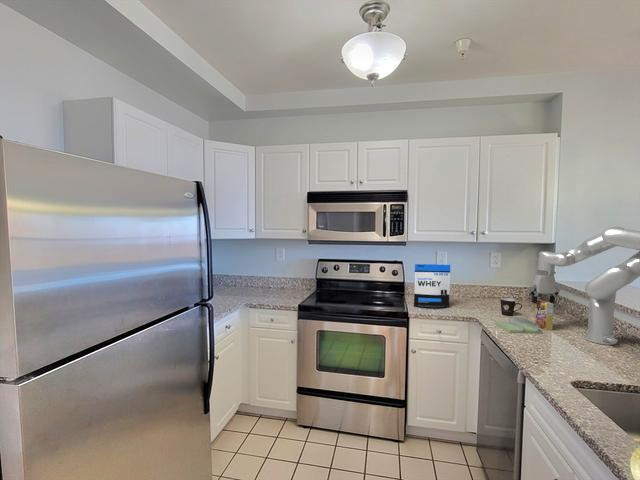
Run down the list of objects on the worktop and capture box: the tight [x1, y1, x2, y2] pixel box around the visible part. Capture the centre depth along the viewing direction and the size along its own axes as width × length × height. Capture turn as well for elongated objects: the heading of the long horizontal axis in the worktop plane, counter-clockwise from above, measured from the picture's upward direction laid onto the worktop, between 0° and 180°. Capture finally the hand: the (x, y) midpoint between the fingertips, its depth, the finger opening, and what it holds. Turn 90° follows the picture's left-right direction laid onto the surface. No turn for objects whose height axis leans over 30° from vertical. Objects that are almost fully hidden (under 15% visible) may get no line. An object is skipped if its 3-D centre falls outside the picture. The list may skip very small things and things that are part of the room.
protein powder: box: [413, 263, 452, 310], centre depth 230 cm, size 10×24×30 cm, turn 88°
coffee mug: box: [499, 297, 523, 317], centre depth 212 cm, size 12×9×10 cm
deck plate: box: [493, 320, 543, 334], centre depth 185 cm, size 16×17×2 cm
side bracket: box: [508, 316, 539, 331], centre depth 183 cm, size 13×8×4 cm, turn 0°
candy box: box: [534, 299, 554, 331], centre depth 187 cm, size 9×4×15 cm, turn 2°
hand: (543, 303), depth 187 cm, fingers open, 9 cm apart
